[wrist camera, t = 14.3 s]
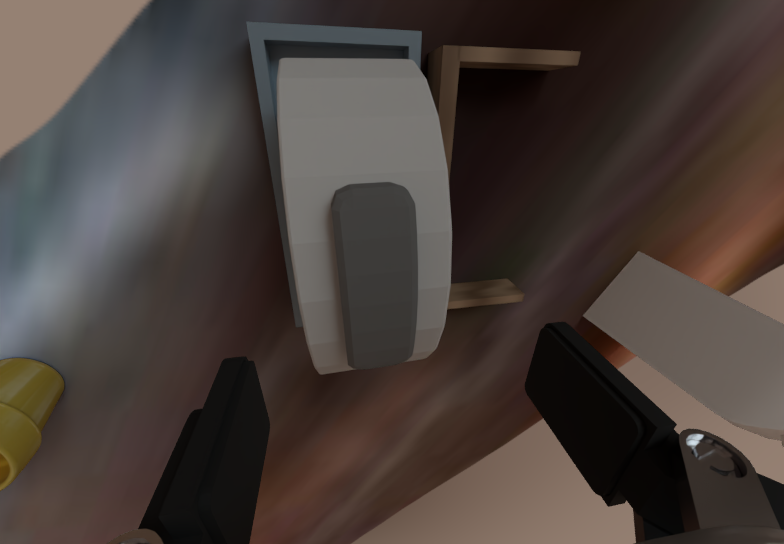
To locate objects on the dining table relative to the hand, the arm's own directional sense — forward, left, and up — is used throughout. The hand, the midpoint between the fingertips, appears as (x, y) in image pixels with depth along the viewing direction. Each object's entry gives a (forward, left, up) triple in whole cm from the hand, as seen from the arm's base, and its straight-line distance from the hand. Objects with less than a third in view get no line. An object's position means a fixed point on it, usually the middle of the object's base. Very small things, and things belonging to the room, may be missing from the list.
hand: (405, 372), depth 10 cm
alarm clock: (0, 0, -24) cm, 24 cm away
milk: (-42, +17, -26) cm, 52 cm away
